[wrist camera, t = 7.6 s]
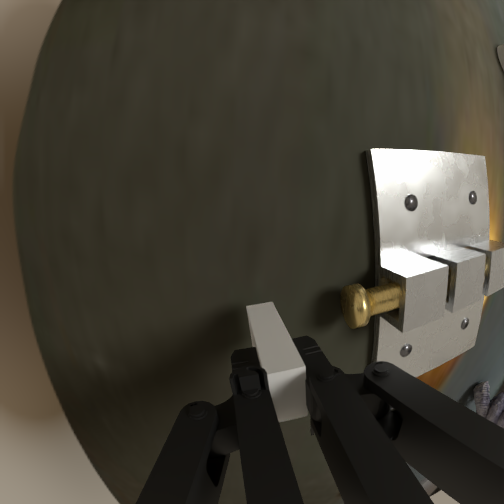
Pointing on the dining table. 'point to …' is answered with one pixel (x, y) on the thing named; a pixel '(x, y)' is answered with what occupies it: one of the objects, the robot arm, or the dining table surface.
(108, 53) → the dining table surface
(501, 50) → the wall hook
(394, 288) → the pin
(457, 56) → the dining table surface
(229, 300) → the dining table surface
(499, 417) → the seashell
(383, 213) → the hinge leaves
